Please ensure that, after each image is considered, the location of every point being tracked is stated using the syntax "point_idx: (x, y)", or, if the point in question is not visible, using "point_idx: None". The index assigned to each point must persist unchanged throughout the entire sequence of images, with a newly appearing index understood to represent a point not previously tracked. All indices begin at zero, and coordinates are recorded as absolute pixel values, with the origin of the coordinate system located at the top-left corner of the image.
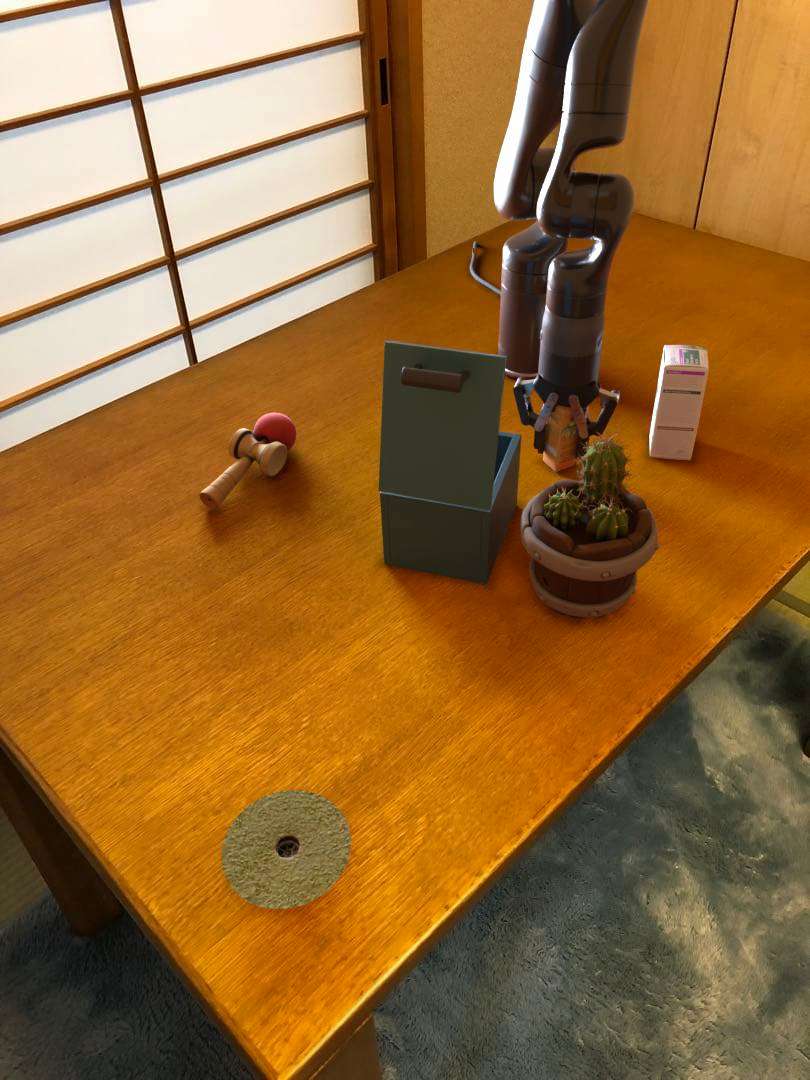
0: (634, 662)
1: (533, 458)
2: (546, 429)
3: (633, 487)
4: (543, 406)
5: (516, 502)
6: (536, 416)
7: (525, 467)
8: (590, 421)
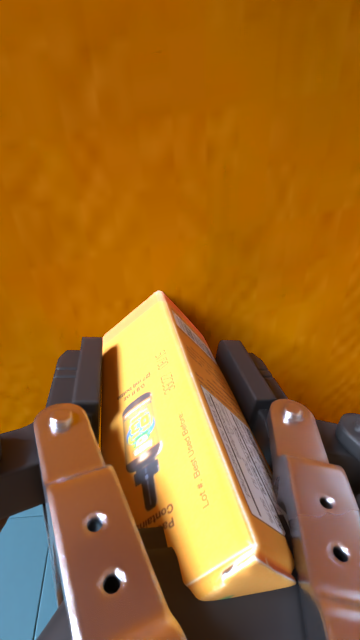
0: None
1: (68, 324)
2: (101, 429)
3: (345, 380)
4: (57, 566)
5: None
6: (30, 483)
7: (54, 372)
8: (317, 430)
